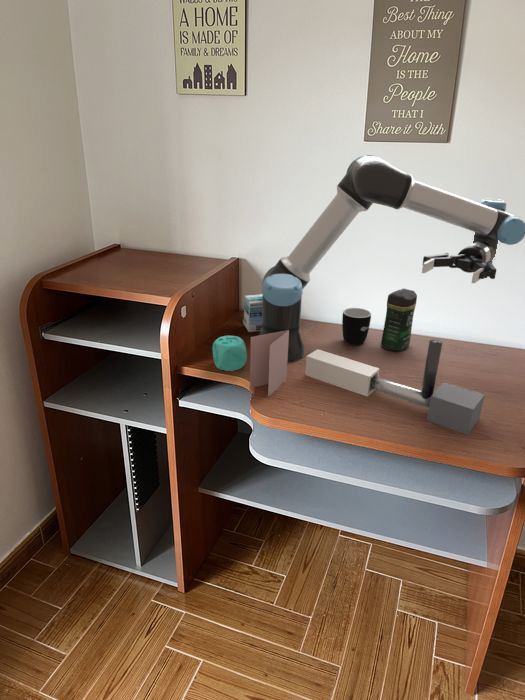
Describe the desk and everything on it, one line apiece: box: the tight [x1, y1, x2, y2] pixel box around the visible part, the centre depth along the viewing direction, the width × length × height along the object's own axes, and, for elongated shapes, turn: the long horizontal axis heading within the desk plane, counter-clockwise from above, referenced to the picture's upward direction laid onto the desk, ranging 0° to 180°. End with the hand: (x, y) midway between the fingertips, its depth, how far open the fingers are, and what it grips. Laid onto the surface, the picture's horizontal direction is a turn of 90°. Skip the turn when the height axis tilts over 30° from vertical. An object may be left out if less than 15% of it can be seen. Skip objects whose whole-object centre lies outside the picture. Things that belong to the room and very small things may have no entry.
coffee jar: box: [380, 287, 418, 352], centre depth 170 cm, size 10×8×19 cm
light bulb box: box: [243, 293, 263, 333], centre depth 182 cm, size 11×7×11 cm, turn 107°
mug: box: [341, 307, 372, 346], centre depth 175 cm, size 12×9×10 cm
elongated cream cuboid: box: [304, 348, 381, 397], centre depth 149 cm, size 20×6×6 cm, turn 53°
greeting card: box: [249, 330, 289, 398], centre depth 143 cm, size 11×7×15 cm, turn 118°
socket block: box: [426, 382, 485, 436], centre depth 132 cm, size 10×9×7 cm
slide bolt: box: [370, 339, 443, 409], centre depth 137 cm, size 26×4×18 cm, turn 53°
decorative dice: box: [212, 335, 248, 372], centre depth 156 cm, size 8×8×8 cm
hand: (448, 273), depth 144 cm, fingers open, 13 cm apart
